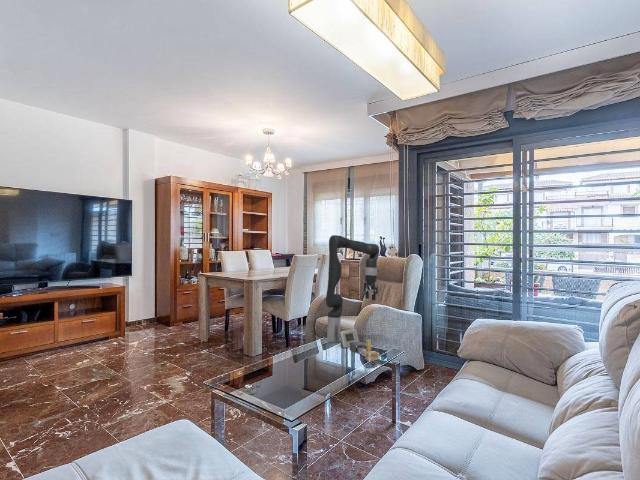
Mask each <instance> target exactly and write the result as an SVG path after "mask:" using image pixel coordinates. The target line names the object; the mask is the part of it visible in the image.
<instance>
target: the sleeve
mask: <svg viewBox="0 0 640 480" xmlns="http://www.w3.org/2000/svg"><path fill="white" fill-rule="evenodd" d="M356 347H362V348H364V349H365V346H364V343H362V342H360V341H359V342H350V347H349V351H350V352H353V353H357V352H356Z"/></svg>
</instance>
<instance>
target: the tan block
mask: <svg viewBox="0 0 640 480" xmlns="http://www.w3.org/2000/svg"><path fill="white" fill-rule="evenodd" d="M377 359H379V360H380V352H378V351H376V350H371V351H369V352H365V356H364V360H366V361H367V362H375V361H374V360H377Z"/></svg>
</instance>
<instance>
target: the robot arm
mask: <svg viewBox="0 0 640 480" xmlns="http://www.w3.org/2000/svg"><path fill="white" fill-rule="evenodd" d="M338 249H350V250H352V251H354V252H359V253H363V254H364V255H365V254H366V255H369V258H366V260H365V271H364V274H365V275H364V282H363V292H364V293H365V299H366V300H369V298H370V292H371V301H376V295H377V294H378V293H379V289H378V287H379V285H378V284H377V279H378V277H377V276H378V275H377V274H378V269H377V264H378V263H377V261H378V258H379V254H380V247H379V245H377V244H376V243H366V242H363V241H361V240H359V241H358V240H355V239H354V240H352V239H349V238H347V237H345V236H342V235H336V234H335V235H333V234H332V235H331V236H330V237H329V240H328V252H329V253H328V255H329V257H328V258H329V259H328V277H327V278H328V279H327V288H326V289H327V291H326V297H325V305H326V306H327V307H328V308H331V310H330V311H329V312H327V331H326V333H327V335H326V341H327V342H329V343H340V342H341V338H340V332H341V322H342V321H341V319H342V316H341V315H342V313H343V296H342V295H341V294H339V293H336V287H337V286H338V283H339V282H340V280H341V278H342V264H341V261H340V259H339V256H338Z"/></svg>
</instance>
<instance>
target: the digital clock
mask: <svg viewBox="0 0 640 480" xmlns="http://www.w3.org/2000/svg"><path fill="white" fill-rule="evenodd" d="M357 332H358V331H357V330H356V328H352V329H351V328H350V329H344V330H342V331H341V330H340V342H339V343H340V345H339V346H340V347H341V348H343V349H348V348H349V349H350V342H360V341H359V337H358V333H357Z"/></svg>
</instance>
